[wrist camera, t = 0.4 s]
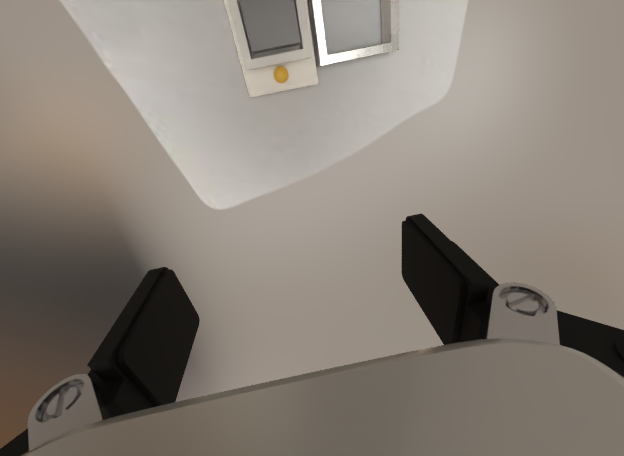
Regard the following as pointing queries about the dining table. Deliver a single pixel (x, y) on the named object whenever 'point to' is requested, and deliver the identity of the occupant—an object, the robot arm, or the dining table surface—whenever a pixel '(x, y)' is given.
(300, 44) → the white step frame
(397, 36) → the frame
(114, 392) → the robot arm
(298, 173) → the dining table surface
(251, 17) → the dark grey block
